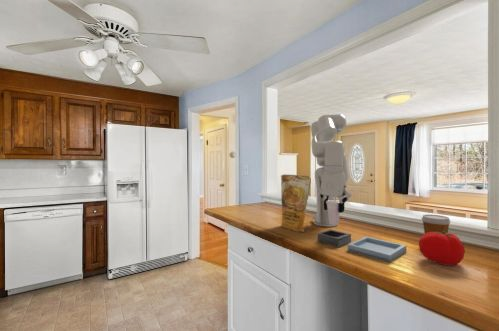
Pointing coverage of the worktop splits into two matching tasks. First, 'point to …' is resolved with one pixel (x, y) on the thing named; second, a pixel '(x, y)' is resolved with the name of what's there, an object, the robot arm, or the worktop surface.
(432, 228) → the disposable coffee cup
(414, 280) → the worktop surface
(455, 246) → the tomato
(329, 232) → the dark grey open box
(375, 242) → the tray
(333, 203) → the smoothie
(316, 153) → the robot arm
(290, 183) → the pancake mix bag
